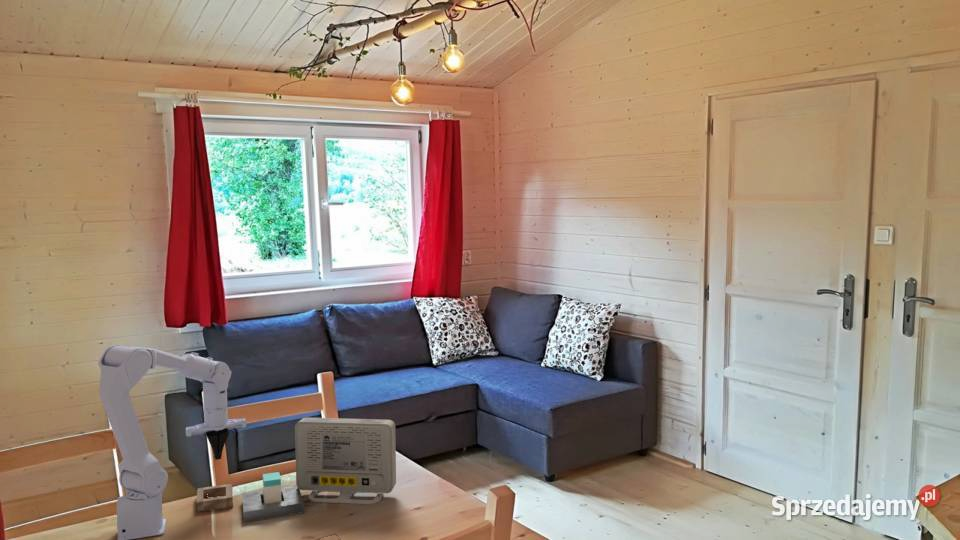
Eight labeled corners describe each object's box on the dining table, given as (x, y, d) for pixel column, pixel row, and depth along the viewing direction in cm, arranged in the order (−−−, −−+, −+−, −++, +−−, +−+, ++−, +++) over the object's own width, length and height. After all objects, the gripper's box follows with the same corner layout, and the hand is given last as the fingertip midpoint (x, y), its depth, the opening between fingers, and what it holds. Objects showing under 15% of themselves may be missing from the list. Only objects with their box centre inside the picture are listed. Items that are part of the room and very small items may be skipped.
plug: (265, 512, 169) (263, 481, 168) (263, 504, 173) (262, 474, 173) (281, 510, 170) (280, 478, 169) (280, 502, 175) (279, 471, 174)
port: (244, 522, 163) (243, 512, 163) (242, 502, 175) (241, 493, 174) (303, 512, 168) (303, 502, 168) (298, 494, 180) (298, 485, 179)
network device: (398, 491, 181) (397, 417, 180) (390, 505, 172) (389, 427, 171) (304, 487, 184) (302, 414, 182) (292, 501, 175) (290, 424, 173)
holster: (196, 512, 169) (196, 502, 169) (197, 497, 178) (197, 488, 178) (232, 506, 172) (232, 497, 172) (232, 492, 181) (231, 483, 181)
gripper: (188, 415, 169) (190, 468, 170) (248, 406, 177) (250, 457, 178) (183, 408, 175) (185, 460, 176) (241, 400, 183) (243, 449, 184)
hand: (217, 458), depth 177 cm, fingers closed
